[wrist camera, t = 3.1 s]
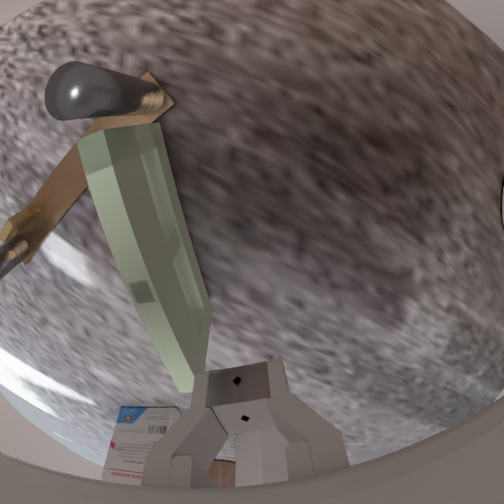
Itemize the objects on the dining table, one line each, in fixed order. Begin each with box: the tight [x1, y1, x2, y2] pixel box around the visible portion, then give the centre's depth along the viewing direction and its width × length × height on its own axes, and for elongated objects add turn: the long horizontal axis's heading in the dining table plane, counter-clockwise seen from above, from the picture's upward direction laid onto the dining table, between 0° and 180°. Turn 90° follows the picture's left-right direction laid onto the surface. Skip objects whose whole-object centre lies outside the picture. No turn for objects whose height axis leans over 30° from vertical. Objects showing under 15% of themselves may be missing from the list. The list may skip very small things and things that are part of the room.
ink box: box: [101, 407, 181, 486], centre depth 27 cm, size 8×5×15 cm, turn 101°
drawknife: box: [0, 61, 177, 280], centre depth 15 cm, size 21×3×11 cm, turn 126°
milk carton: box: [235, 428, 290, 487], centre depth 27 cm, size 7×7×19 cm
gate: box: [76, 122, 213, 393], centre depth 17 cm, size 15×1×8 cm, turn 11°
